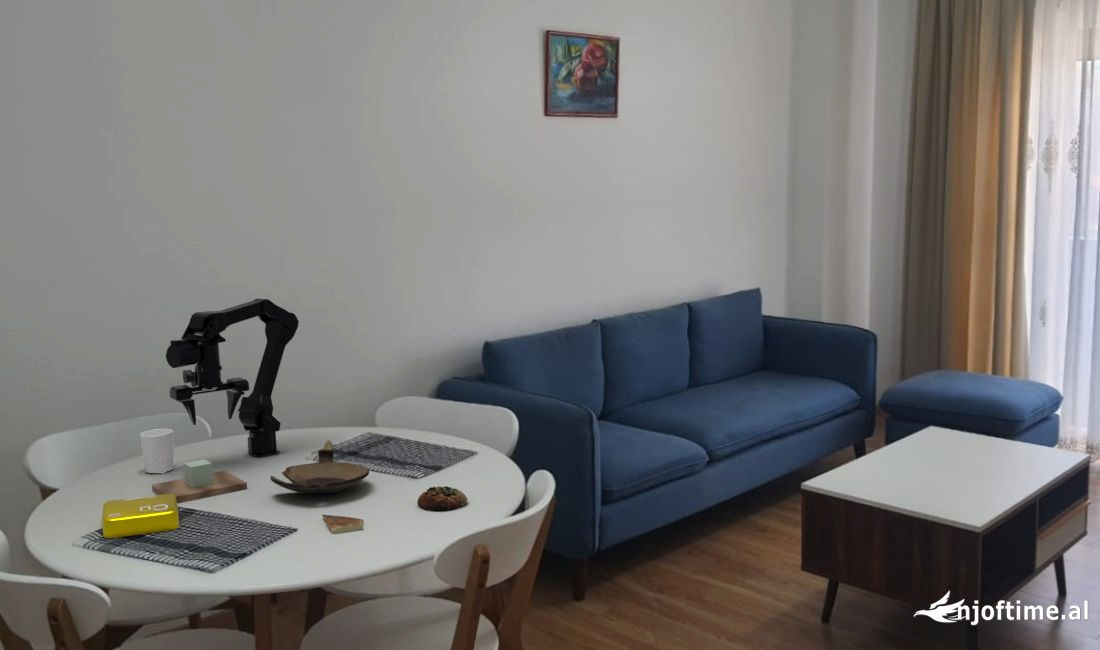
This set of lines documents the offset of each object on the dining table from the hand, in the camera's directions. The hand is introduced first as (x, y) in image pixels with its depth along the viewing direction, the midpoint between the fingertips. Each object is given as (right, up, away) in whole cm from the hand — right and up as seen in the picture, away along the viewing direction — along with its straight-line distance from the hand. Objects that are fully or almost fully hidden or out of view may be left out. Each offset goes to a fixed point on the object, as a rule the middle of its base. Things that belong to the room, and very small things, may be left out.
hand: (212, 421), depth 271 cm
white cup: (-13, -13, 0) cm, 19 cm away
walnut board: (+3, -15, -18) cm, 23 cm away
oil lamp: (+33, -14, -18) cm, 41 cm away
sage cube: (+3, -13, -18) cm, 22 cm away
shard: (+41, -19, -47) cm, 65 cm away
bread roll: (+62, -16, -33) cm, 72 cm away
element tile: (-2, -19, -41) cm, 46 cm away
